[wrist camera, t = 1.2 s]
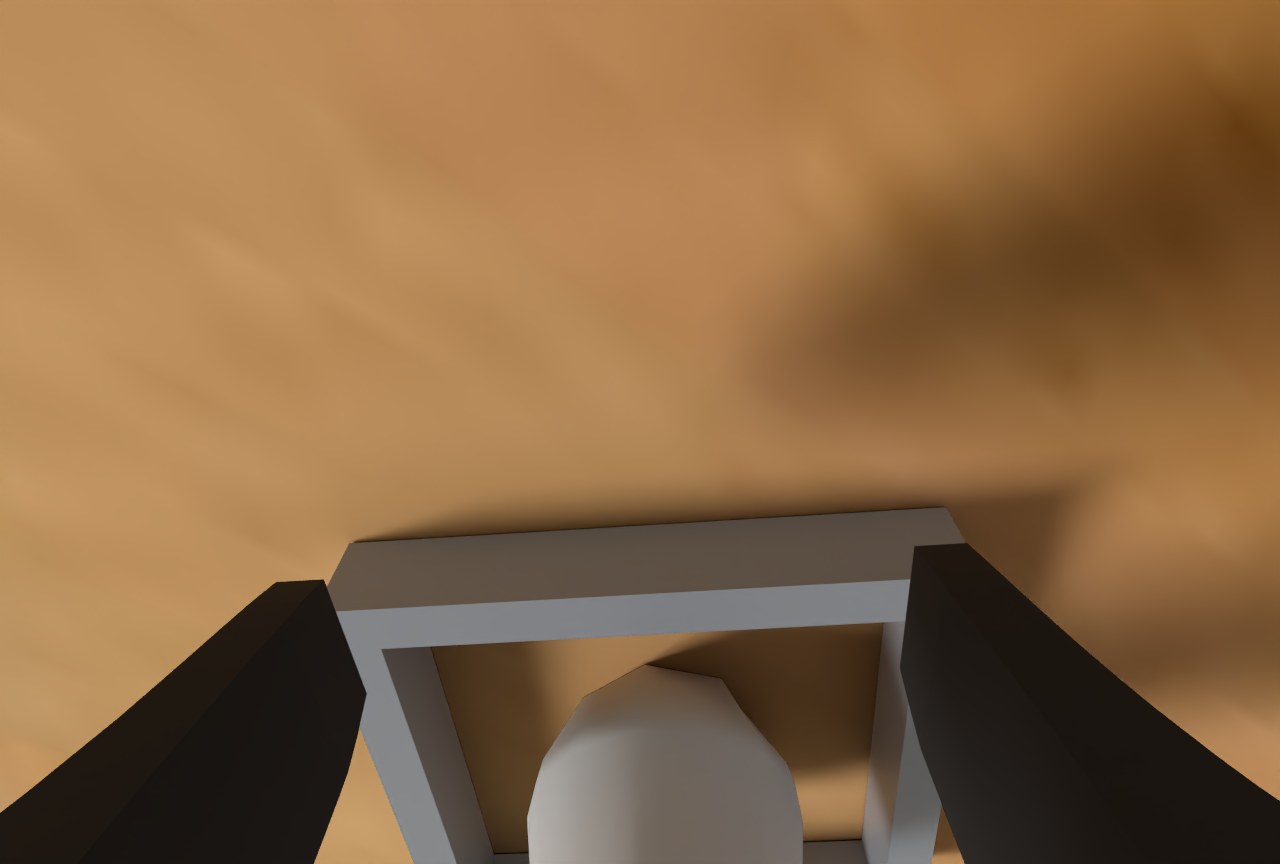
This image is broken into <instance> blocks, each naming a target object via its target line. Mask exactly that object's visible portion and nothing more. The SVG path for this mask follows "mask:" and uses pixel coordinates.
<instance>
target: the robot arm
mask: <svg viewBox="0 0 1280 864" xmlns="http://www.w3.org/2000/svg"><path fill="white" fill-rule="evenodd" d="M900 671H901V675H902V679H903V683H904V687H905V691H906V695H907V699H908V703H909V707H910V711H911V715H912V719H913V722H914V726H915V730H916V734H917V737H918V741H919V745H920V748H921V751H922V754H923V756H924V759H925V762H926V764H927V767H928V770H929V772H930V775H931V778H932V780H933V783H934V785H935V788H936V791H937V793H938V796H939V798H940V801H941V804H942V806H943V809H944V811H945V814H946V817H947V819H948V822H949V824H950V827H951V829H952V832H953V834H954V837H955V840H956V842H957V845H958V847H959V850H960V852H961V855H962V858H963V860H964V863H965V864H1280V801H1279V800H1277V799H1276V798H1274V797H1273V796H1272V795H1270V794H1269V793H1267V792H1266V791H1264V790H1263V789H1261V788H1260V787H1259V786H1257V785H1256V784H1254V783H1253V782H1252V781H1250V780H1249V779H1247V778H1246V777H1245V776H1243V775H1242V774H1241V773H1239V772H1238V771H1237V770H1235V769H1234V768H1232V767H1231V766H1230V765H1228V764H1227V763H1226V762H1224V761H1223V760H1222V759H1220V758H1219V757H1218V756H1216V755H1215V754H1214V753H1212V752H1211V751H1210V750H1208V749H1207V748H1206V747H1205V746H1203V745H1202V744H1201V743H1199V742H1198V741H1197V740H1196V739H1194V738H1193V737H1192V736H1190V735H1189V734H1188V733H1186V732H1185V731H1184V730H1183V729H1181V728H1180V727H1179V726H1177V725H1176V724H1175V723H1174V722H1172V721H1171V720H1170V719H1168V718H1167V717H1166V716H1165V715H1163V714H1162V713H1161V712H1159V711H1158V710H1157V709H1156V708H1154V707H1153V706H1152V705H1151V704H1149V703H1148V702H1147V701H1146V700H1144V699H1143V698H1142V697H1141V696H1140V695H1138V694H1137V693H1136V692H1135V691H1133V690H1132V689H1131V688H1130V687H1129V686H1127V685H1126V684H1125V683H1124V682H1122V681H1121V680H1120V679H1119V678H1118V677H1117V676H1115V675H1114V674H1113V673H1112V672H1111V671H1110V670H1108V669H1107V668H1106V667H1105V666H1104V665H1103V664H1101V663H1100V662H1099V661H1098V660H1097V659H1096V658H1094V657H1093V656H1092V655H1091V654H1090V653H1088V652H1087V651H1086V650H1085V649H1084V648H1083V647H1081V646H1080V645H1079V644H1078V643H1077V642H1076V641H1075V640H1073V639H1072V638H1071V637H1070V636H1069V635H1068V634H1067V633H1066V632H1064V631H1063V630H1062V629H1061V628H1060V627H1059V626H1058V625H1056V624H1055V623H1054V622H1053V621H1052V620H1051V619H1050V618H1049V617H1048V616H1047V615H1045V614H1044V613H1043V612H1042V611H1041V610H1040V609H1039V608H1038V607H1037V606H1035V605H1034V604H1033V603H1032V602H1031V601H1030V600H1029V599H1028V598H1027V597H1026V596H1024V595H1023V594H1022V593H1021V592H1020V591H1019V590H1018V589H1017V588H1016V587H1015V586H1013V585H1012V584H1011V583H1010V582H1009V581H1008V580H1007V579H1006V578H1005V577H1004V576H1003V575H1001V574H1000V573H999V572H998V571H997V570H996V569H995V568H994V567H993V566H992V565H991V564H989V563H988V562H987V561H986V560H985V559H984V558H983V557H982V556H981V555H980V554H978V553H977V552H976V551H975V550H974V549H973V548H972V547H971V546H970V545H968V544H967V543H958V544H940V545H923V546H914V553H913V562H912V570H911V578H910V586H909V595H908V603H907V611H906V619H905V627H904V636H903V644H902V652H901V660H900ZM366 696H367V693H366V690H365V687H364V685H363V682H362V679H361V677H360V674H359V671H358V669H357V666H356V663H355V661H354V658H353V656H352V653H351V650H350V648H349V645H348V642H347V640H346V637H345V634H344V632H343V629H342V626H341V624H340V621H339V619H338V616H337V613H336V611H335V608H334V605H333V603H332V600H331V597H330V595H329V592H328V589H327V587H326V584H325V582H324V580H307V581H289V582H276V583H275V584H273V585H272V586H271V587H270V588H268V589H267V590H266V591H264V592H263V593H262V594H261V595H259V596H258V597H257V598H256V599H255V600H253V601H252V602H251V603H250V604H249V605H248V606H246V607H245V608H244V609H243V610H242V611H241V612H239V613H238V614H237V615H236V616H235V617H234V618H233V619H231V620H230V621H229V622H228V623H227V624H226V625H224V626H223V627H222V628H221V629H220V630H219V631H218V632H217V633H215V634H214V635H213V636H212V637H211V638H210V639H209V640H207V641H206V642H205V643H204V644H203V645H202V646H201V647H199V648H198V649H197V650H196V651H195V652H194V653H193V654H192V655H190V656H189V657H188V658H187V659H186V660H185V661H184V662H182V663H181V664H180V665H179V666H178V667H177V668H176V669H174V670H173V671H172V672H171V673H170V674H169V675H167V676H166V677H165V678H164V679H163V680H162V681H161V682H159V683H158V684H157V685H156V686H155V687H154V688H152V689H151V690H150V691H149V692H148V693H147V694H146V695H144V696H143V697H142V698H141V699H140V700H139V701H137V702H136V703H135V704H134V705H133V706H132V707H131V708H129V709H128V710H127V711H126V712H125V713H124V714H122V715H121V716H120V717H119V718H118V719H117V720H115V721H114V722H113V723H112V724H110V725H109V726H108V727H107V728H105V729H104V730H103V731H102V732H101V733H99V734H98V735H97V736H96V737H94V738H93V739H92V740H91V741H89V742H88V743H87V744H86V745H85V746H83V747H82V748H81V749H80V750H78V751H77V752H76V753H75V754H73V755H72V756H71V757H70V758H69V759H67V760H66V761H65V762H64V763H62V764H61V765H60V766H59V767H57V768H56V769H55V770H54V771H53V772H51V773H50V774H49V775H48V776H46V777H45V778H44V779H43V780H41V781H40V782H39V783H38V784H37V785H35V786H34V787H33V788H32V789H30V790H29V791H28V792H27V793H25V794H24V795H23V796H22V797H20V798H19V799H18V800H16V801H15V802H14V803H13V804H11V805H10V806H9V807H7V808H6V809H5V810H3V811H2V812H1V813H0V864H314V862H315V859H316V856H317V854H318V851H319V849H320V846H321V843H322V841H323V838H324V836H325V833H326V830H327V828H328V825H329V822H330V820H331V817H332V814H333V812H334V809H335V806H336V804H337V801H338V798H339V796H340V793H341V790H342V787H343V785H344V782H345V779H346V776H347V774H348V770H349V766H350V762H351V758H352V755H353V751H354V747H355V743H356V739H357V735H358V731H359V726H360V722H361V718H362V713H363V709H364V704H365V700H366Z"/></svg>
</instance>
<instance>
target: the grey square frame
mask: <svg viewBox="0 0 1280 864" xmlns="http://www.w3.org/2000/svg"><path fill="white" fill-rule="evenodd" d="M958 543H966V542H965V540H964V539H963V537H962V535H961V533H960V531H959V529H958V528H957V526H956V524H955V522H954V520H953V518H952V516H951V515H950V513H949V511H948V509H947V507H940V508H924V509H907V510H891V511H874V512H858V513H841V514H825V515H808V516H792V517H775V518H759V519H742V520H726V521H709V522H693V523H676V524H660V525H643V526H627V527H610V528H594V529H577V530H561V531H544V532H528V533H511V534H495V535H478V536H462V537H445V538H429V539H412V540H396V541H379V542H363V543H349V545H348V547H347V549H346V551H345V553H344V555H343V557H342V559H341V561H340V563H339V565H338V567H337V569H336V570H335V572H334V574H333V576H332V578H331V580H330V582H329V584H328V586H327V589H328V592H329V595H330V597H331V600H332V603H333V605H334V608H335V611H336V613H337V616H338V619H339V621H340V624H341V626H342V629H343V632H344V634H345V637H346V640H347V642H348V645H349V648H350V650H351V653H352V656H353V658H354V661H355V663H356V666H357V669H358V671H359V674H360V677H361V679H362V682H363V685H364V687H365V690H366V693H367V696H366V700H365V704H364V709H363V713H362V718H361V722H360V726H359V727H360V730H361V732H362V735H363V737H364V740H365V742H366V745H367V747H368V750H369V752H370V755H371V757H372V760H373V762H374V765H375V767H376V770H377V772H378V775H379V777H380V780H381V782H382V785H383V787H384V790H385V792H386V795H387V797H388V800H389V802H390V805H391V807H392V810H393V812H394V815H395V817H396V820H397V822H398V825H399V827H400V830H401V832H402V835H403V837H404V840H405V842H406V845H407V847H408V850H409V852H410V855H411V857H412V860H413V862H414V864H530V861H529V853H522V854H497V855H494V853H493V850H492V846H491V843H490V840H489V837H488V833H487V830H486V827H485V824H484V820H483V817H482V814H481V811H480V807H479V804H478V801H477V798H476V794H475V791H474V788H473V785H472V781H471V778H470V775H469V772H468V768H467V765H466V762H465V759H464V755H463V752H462V749H461V745H460V742H459V739H458V736H457V732H456V729H455V726H454V723H453V719H452V716H451V713H450V710H449V706H448V703H447V700H446V697H445V693H444V690H443V687H442V684H441V680H440V677H439V674H438V671H437V667H436V664H435V661H434V658H433V654H432V651H431V648H430V646H448V645H467V644H485V643H504V642H523V641H542V640H560V639H579V638H598V637H617V636H636V635H654V634H673V633H692V632H711V631H729V630H748V629H767V628H786V627H805V626H823V625H842V624H861V623H880V622H884V623H883V633H882V643H881V653H880V663H879V673H878V683H877V693H876V703H875V713H874V723H873V733H872V743H871V753H870V763H869V773H868V783H867V793H866V803H865V813H864V823H863V832H862V840H857V841H831V842H805V843H803V864H931V862H932V856H933V851H934V845H935V840H936V834H937V829H938V823H939V818H940V812H941V807H942V804H941V801H940V798H939V796H938V793H937V791H936V788H935V785H934V783H933V780H932V778H931V775H930V772H929V770H928V767H927V764H926V762H925V759H924V756H923V754H922V751H921V748H920V745H919V741H918V737H917V734H916V730H915V726H914V722H913V719H912V715H911V711H910V707H909V703H908V699H907V695H906V691H905V687H904V683H903V679H902V675H901V671H900V660H901V652H902V644H903V636H904V627H905V619H906V611H907V603H908V595H909V586H910V578H911V570H912V562H913V553H914V546H923V545H940V544H958Z"/></svg>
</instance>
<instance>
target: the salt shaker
mask: <svg viewBox="0 0 1280 864" xmlns="http://www.w3.org/2000/svg"><path fill="white" fill-rule="evenodd" d="M527 826H528V844H529V861H530V864H803V821H802V816H801V811H800V806H799V802H798V797H797V792H796V787H795V784H794V781H793V778H792V776H791V773H790V770H789V767H788V765H787V763H786V762H785V760H784V759H783V758H782V757H781V756H780V755H779V753H778V752H777V751H776V750H775V749H774V747H773V746H772V745H771V744H770V743H769V742H768V740H767V739H766V738H765V737H764V736H763V735H762V733H761V732H760V731H759V730H758V729H757V727H756V726H755V725H754V724H753V723H752V722H751V720H750V719H749V718H748V717H747V716H746V715H745V713H744V712H743V711H742V710H741V709H740V707H739V706H738V704H737V702H736V701H735V699H734V698H733V696H732V695H731V693H730V691H729V690H728V688H727V687H726V685H725V684H724V682H723V680H722V679H721V678H715V677H710V676H704V675H699V674H693V673H687V672H682V671H676V670H671V669H665V668H660V667H654V666H648V665H643V666H641V667H639V668H638V669H636V670H634V671H632V672H630V673H628V674H626V675H625V676H623V677H621V678H619V679H617V680H615V681H613V682H612V683H610V684H608V685H606V686H604V687H602V688H600V689H599V690H597V691H595V692H593V693H591V694H589V695H587V696H586V697H584V698H583V699H582V700H581V702H580V703H579V705H578V706H577V708H576V709H575V711H574V713H573V714H572V716H571V717H570V719H569V720H568V722H567V723H566V725H565V726H564V728H563V729H562V731H561V732H560V734H559V736H558V737H557V739H556V740H555V742H554V743H553V745H552V746H551V748H550V749H549V751H548V752H547V754H546V755H545V757H544V758H543V762H542V765H541V768H540V771H539V774H538V778H537V781H536V785H535V789H534V793H533V797H532V801H531V804H530V808H529V812H528V816H527Z"/></svg>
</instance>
